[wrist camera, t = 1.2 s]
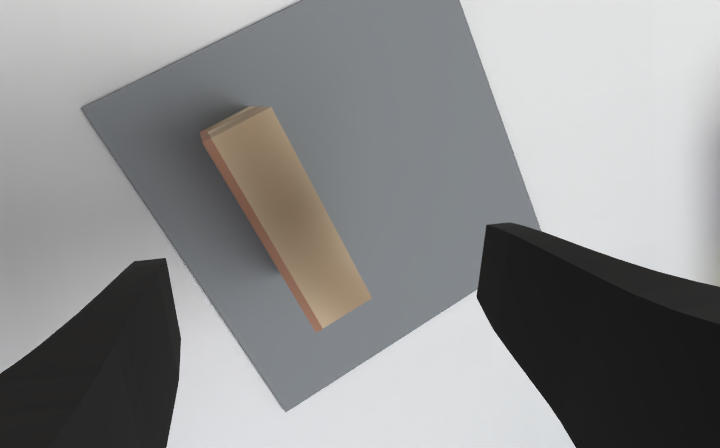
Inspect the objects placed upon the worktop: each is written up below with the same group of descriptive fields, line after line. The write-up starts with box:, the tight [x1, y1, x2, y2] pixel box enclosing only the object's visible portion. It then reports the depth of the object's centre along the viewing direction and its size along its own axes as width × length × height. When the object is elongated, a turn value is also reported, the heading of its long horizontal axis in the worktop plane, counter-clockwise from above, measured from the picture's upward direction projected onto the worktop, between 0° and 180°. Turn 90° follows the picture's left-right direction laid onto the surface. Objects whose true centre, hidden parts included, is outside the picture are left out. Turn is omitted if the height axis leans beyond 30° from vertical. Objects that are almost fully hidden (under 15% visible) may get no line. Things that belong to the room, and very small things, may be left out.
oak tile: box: [200, 106, 372, 333], centre depth 21 cm, size 2×8×7 cm, turn 26°
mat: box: [81, 0, 541, 412], centre depth 25 cm, size 18×18×1 cm
